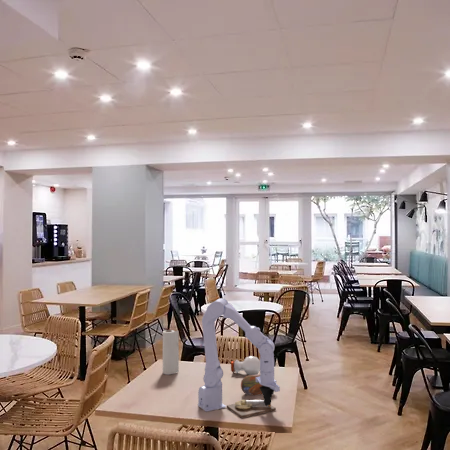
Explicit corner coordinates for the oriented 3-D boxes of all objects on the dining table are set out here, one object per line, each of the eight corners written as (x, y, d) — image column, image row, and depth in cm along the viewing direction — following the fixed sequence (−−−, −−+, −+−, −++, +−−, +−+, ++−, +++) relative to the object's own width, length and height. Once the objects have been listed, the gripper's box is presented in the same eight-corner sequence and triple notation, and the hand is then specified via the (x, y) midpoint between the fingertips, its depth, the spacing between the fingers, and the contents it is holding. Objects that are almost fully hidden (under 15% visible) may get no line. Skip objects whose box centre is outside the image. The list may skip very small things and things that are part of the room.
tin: (242, 396, 205) (242, 377, 205) (240, 394, 208) (240, 375, 208) (274, 393, 209) (274, 374, 209) (271, 390, 212) (271, 372, 212)
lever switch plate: (241, 418, 181) (241, 415, 181) (226, 407, 192) (226, 405, 192) (275, 410, 189) (275, 407, 189) (259, 400, 200) (259, 398, 200)
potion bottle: (262, 379, 232) (233, 380, 236) (264, 363, 240) (235, 364, 244) (258, 367, 227) (228, 368, 231) (260, 351, 235) (231, 352, 239)
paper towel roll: (160, 374, 236) (160, 331, 236) (165, 370, 242) (165, 329, 242) (173, 375, 234) (173, 332, 234) (178, 372, 239) (178, 330, 240)
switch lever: (235, 410, 186) (235, 404, 186) (234, 403, 193) (234, 397, 193) (271, 410, 186) (271, 404, 186) (269, 403, 193) (269, 397, 193)
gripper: (285, 373, 184) (286, 408, 184) (265, 364, 197) (265, 397, 197) (271, 376, 181) (271, 412, 181) (251, 367, 193) (251, 400, 193)
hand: (267, 404), depth 188 cm, fingers closed, pressing on switch lever
